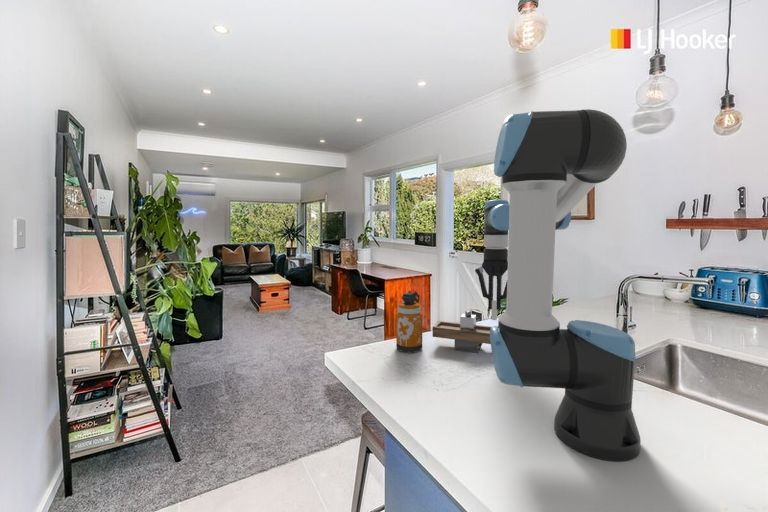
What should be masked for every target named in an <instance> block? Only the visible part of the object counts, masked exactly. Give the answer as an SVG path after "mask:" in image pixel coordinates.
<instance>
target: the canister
mask: <svg viewBox="0 0 768 512" xmlns="http://www.w3.org/2000/svg"><path fill="white" fill-rule="evenodd" d="M421 309H422V306H421V304H420V294H418V292H417V291H416V290H414V292H412V291H410V290H409V291H408V292H406V293H403V294H402V296H401V300H400V303H399V304H398V305H397V311H396V313H395V318H396V319H395V320H396V324H395V328H396V332H395V334H396V335H395V336H396V337H395V340H396V345H395V346H396V349H397V350H399V351H401V352H404V353H415V352H418V351H421V350H422V349H423V312H422V310H421Z"/></svg>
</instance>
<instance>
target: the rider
mask: <svg viewBox="0 0 768 512" xmlns="http://www.w3.org/2000/svg"><path fill="white" fill-rule="evenodd" d="M459 319H460V320H459V321H460V322H459V323H460V329H468V330H471V331H475V329H476V325H477V314H472V310H465V313H462V314H461V316H460V317H459Z"/></svg>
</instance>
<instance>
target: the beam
mask: <svg viewBox="0 0 768 512" xmlns="http://www.w3.org/2000/svg"><path fill="white" fill-rule="evenodd" d="M491 327H492V326H489V325H488V326H487V325H481V324H480V325H478V324H476V329H475V331H471V330H468V329H460V322H452V321H445V320H438V321H437V322H436V323H435V324H434V325H433V326H432V336H431V337H432V338H439V339H447V340H454V345H453V346H454V349H455V350H454V351H459V350H460V352H467V353H475V354H479V352H480V351H481V348H482V345H483V344H488V345H491V342H490V329H491Z"/></svg>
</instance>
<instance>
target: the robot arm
mask: <svg viewBox="0 0 768 512" xmlns="http://www.w3.org/2000/svg"><path fill="white" fill-rule="evenodd" d="M627 145H628V144H627V136H626V134H625V131H624V129H623V127H622V126H621V124H620V123H619V122H618V121H617V120H616V119H615V118H614V117H613V116H612V115H610V114H608V113H607V112H603V111H601V110H596V109H589V108H588V109H587V108H586V109H580V110H579V109H578V110H577V109H575V110H574V109H573V110H546V111H533V110H532V111H528V112H523V113H513V114H510V115H508V116H507V117H506V118H505V119H504V121H503V123H502V125H501V128H500V129H499V134H498V138H497V143H496V147H495V148H496V149H495V154H494V162H493V163H494V164H493V173H494V175H495V176H496V177H498V178H500V177H501V186H502V187H503V188H504V189H505V190H506V191H507V192H508V194H509V200H507V199H491V200H486V201H485V202H484V210H483V213H484V215H483V216H484V222H483V223H484V227H483V228H484V233H483V234H484V235H483V247H485V248H484V249H483V262H482V264H481V266H479V267H477V268H475V269H474V272H475V273H476V275H477V276H478V280H479V281H478V282H479V285H480V290H481V294H482V297H483V298H485V299H487V300H488V304H487V305H488V307H487V308H488V309H489V310H491V321H497V320H498V325H494V326H490V327H491V329H490V342H491V344H490V350H491V356H492V361H493V366H494V370H495V374H496V376H497V379H498V381H500V383H501V384H504V385H508V386H509V385H510V386H517V387H520V388H524V387H527V388H529V387H530V388H531V387H532V388H548V389H549V388H550V389H551V388H552V389H564V395H563V397H562V400H561V402H560V404H559V406H558V408H557V411H556V413H555V415H554V421H553V423H554V425H553V430H554V433H555V434H556V436H557V437H558V438H559V439H560V440H561V441H562V442H563V443H564V444H566V445H567V446H568V447H570V448H571V449H573V450H575V451H577V452H579V453H581V454H584V455H587V456H589V457H593V458H595V459H601V460H604V461H605V460H606V461H614V462H615V461H616V462H624V461H629V460H632V459H635V458H637V456H638V455H640V452H641V441H642V440H641V435H640V433H639V429H638V425H637V423H636V420H635V415H634V413H633V409H632V408H633V406H632V405H633V394H634V379H635V365H636V361H637V358H636V342H635V340H634V338H633V337H632V336H631V335H630V334H628V333H627V332H625V331H624V330H621V329H619V328H616V327H614V326H612V325H611V326H610V325H607V324H604V323H600V322H599V323H598V322H594V321H590V320H589V321H588V320H582V319H581V320H579V319H575V320H570V321H569V322H568V323H567V325H566V329H565V328H561V327H560V326H561V324H560V321H559V320H558V318H556V317H555V316H554V314H553V298H554V297H553V295H554V293H553V291H554V271H555V270H554V269H555V250H556V249H555V247H556V246H555V245H556V231H559V230H560V231H561V230H566V229H567V228H569V226H570V223H571V219H572V211H573V209H574V208H575V207H576V206H577V205H578V204H579V203H580V202H581V201H582V200H583V199H584V198H585V196H586V195H588V193H589V192H590V191H592V189H594V187H595V186H597V184H601V183H603V182H605V181H607V180H609V179H610V178H611V177H612V176H613V175H614V174H615V173H617V171H618V170H619V168H620V167H621V165H622V164H623V162H624V160H625V158H626V152H627ZM506 271H507V274H506V275H507V276H506V277H507V279H506V282H505V287H504V290H503V293H502V280H503V279H502V278H503V275H504V274H505V273H506ZM484 272H485V273H486V275H487V276H488V291H487V286H486V282H485V276H484ZM494 277H496V298H494ZM502 300H506V308H505V309H506V310H505V311H504V312H503V313H502V314H500V315H499V316H498V311H500V310H501V307H502Z"/></svg>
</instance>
